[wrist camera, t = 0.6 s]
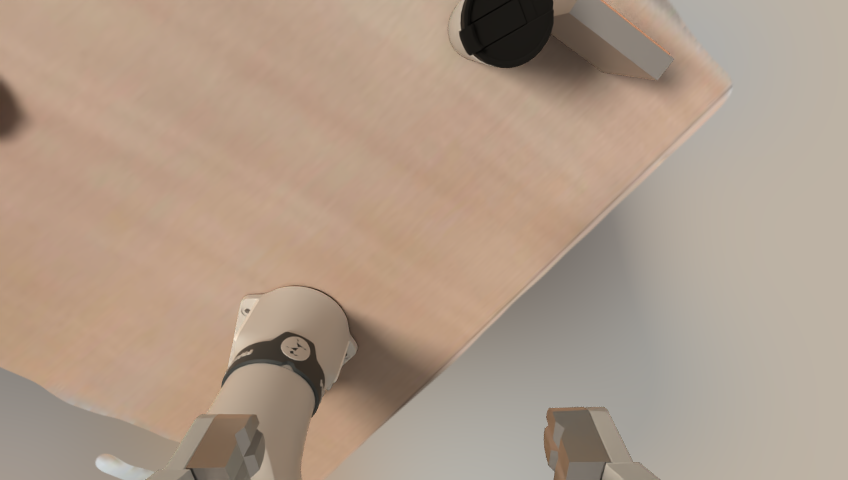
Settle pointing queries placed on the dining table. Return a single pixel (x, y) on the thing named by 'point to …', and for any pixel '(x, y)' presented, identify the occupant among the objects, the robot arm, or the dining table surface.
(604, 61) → the tile
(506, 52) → the travel mug
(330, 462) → the dining table surface
